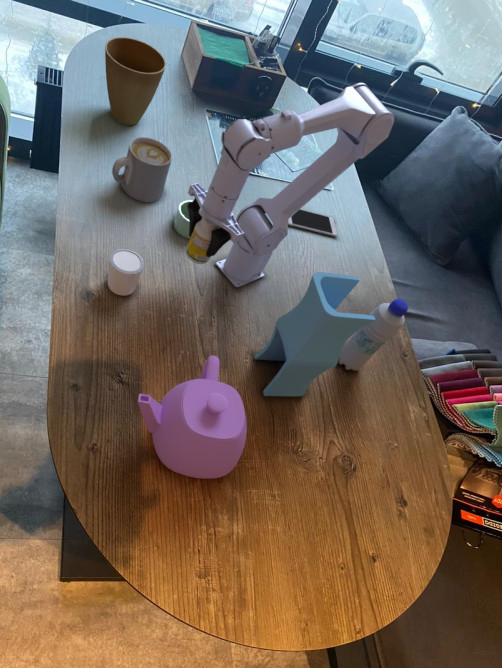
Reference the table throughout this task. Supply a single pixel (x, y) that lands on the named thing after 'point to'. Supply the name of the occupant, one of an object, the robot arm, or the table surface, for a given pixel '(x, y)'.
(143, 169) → the coffee mug
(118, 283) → the white round canister
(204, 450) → the teapot
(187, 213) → the cup
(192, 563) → the table surface
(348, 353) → the bottle
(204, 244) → the supplement bottle
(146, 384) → the table surface
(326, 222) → the smartphone
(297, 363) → the blue tall flared piece
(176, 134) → the table surface
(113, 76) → the plant pot
